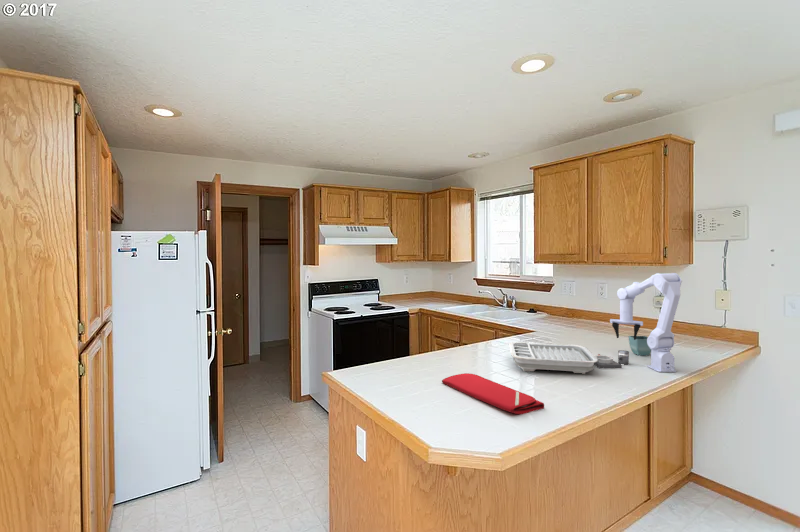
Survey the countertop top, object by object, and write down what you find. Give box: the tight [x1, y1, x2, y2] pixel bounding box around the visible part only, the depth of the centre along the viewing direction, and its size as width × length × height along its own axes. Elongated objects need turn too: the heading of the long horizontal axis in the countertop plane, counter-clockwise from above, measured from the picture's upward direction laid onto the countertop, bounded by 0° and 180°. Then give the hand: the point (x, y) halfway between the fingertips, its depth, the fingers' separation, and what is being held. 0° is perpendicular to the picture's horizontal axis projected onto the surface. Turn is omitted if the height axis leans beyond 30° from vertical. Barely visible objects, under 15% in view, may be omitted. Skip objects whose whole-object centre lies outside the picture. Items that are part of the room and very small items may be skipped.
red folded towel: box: [441, 372, 545, 415], centre depth 158 cm, size 16×41×4 cm, turn 29°
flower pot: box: [628, 335, 651, 356], centre depth 215 cm, size 9×9×9 cm
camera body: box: [594, 353, 623, 369], centre depth 198 cm, size 14×10×4 cm
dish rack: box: [508, 341, 598, 375], centre depth 196 cm, size 32×37×8 cm
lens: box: [617, 349, 630, 366], centre depth 198 cm, size 5×5×6 cm
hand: (626, 338), depth 209 cm, fingers open, 7 cm apart
